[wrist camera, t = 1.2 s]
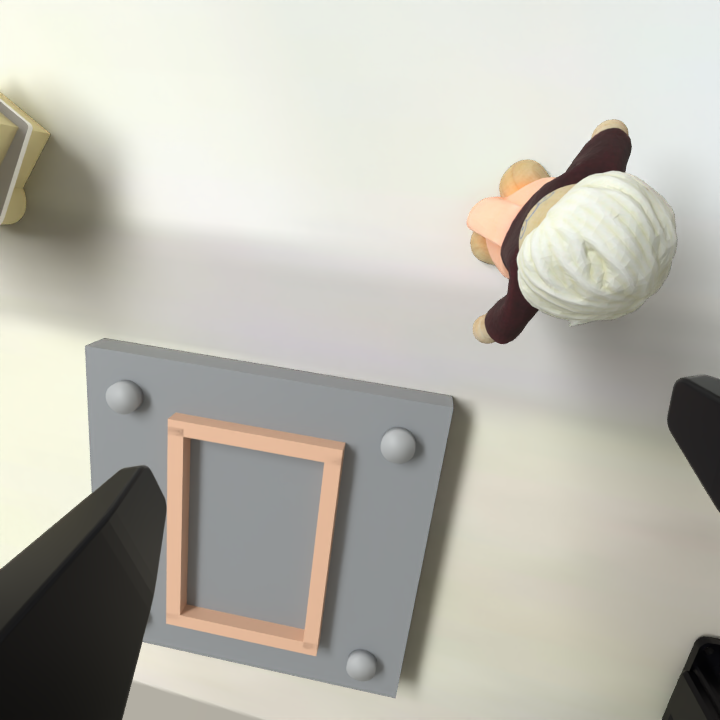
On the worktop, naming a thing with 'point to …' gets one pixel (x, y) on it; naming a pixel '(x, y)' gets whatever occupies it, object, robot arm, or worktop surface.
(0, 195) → the stacked layers on plate
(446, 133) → the worktop surface
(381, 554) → the base plate
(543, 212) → the grandmother figurine
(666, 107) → the worktop surface
